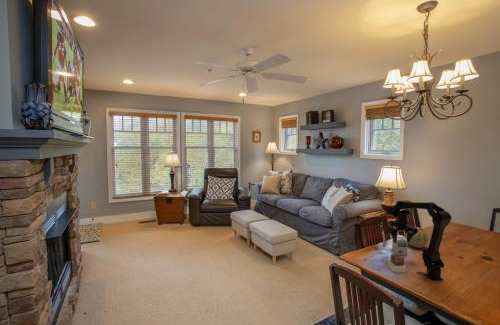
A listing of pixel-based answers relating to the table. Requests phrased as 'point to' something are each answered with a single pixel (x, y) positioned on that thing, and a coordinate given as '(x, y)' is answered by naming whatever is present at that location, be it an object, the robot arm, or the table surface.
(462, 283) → the table surface
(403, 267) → the cream block
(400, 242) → the light bulb box
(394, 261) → the walnut cube
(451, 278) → the table surface
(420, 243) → the cantaloupe
